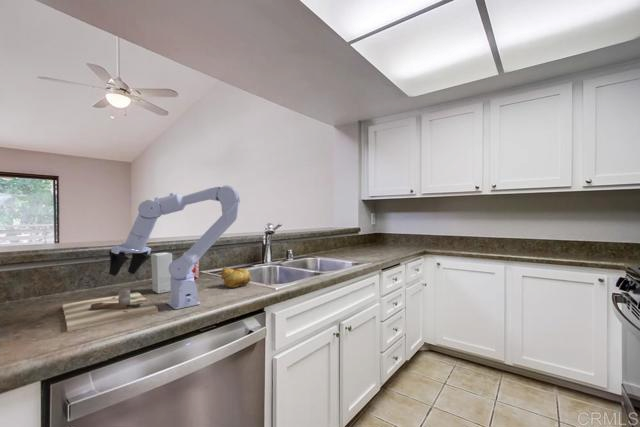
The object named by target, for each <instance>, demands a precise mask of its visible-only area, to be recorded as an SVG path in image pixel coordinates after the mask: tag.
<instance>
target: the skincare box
mask: <svg viewBox="0 0 640 427" xmlns="http://www.w3.org/2000/svg"><path fill="white" fill-rule="evenodd" d="M150 258H151V260H150V261H151V262H150V263H151V285H152V286H151V287H152V288H151V289H152V291H153V292H154V293H156V294H161V293H162V294H163V293H169V292H170V293H171V275H170V273H169V265H170V264H171V262H173V253H171V252H158V253H151V255H150Z"/></svg>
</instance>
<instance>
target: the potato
mask: <svg viewBox="0 0 640 427" xmlns="http://www.w3.org/2000/svg"><path fill="white" fill-rule="evenodd" d="M220 274H221V279H222V280H223V283H224V285H225V286H226V287H227V288H238V287H242V286H243V287H244V286H246V285H247V284H249V283H250V281H251V279H252V278H251V274H250V271H249V270H247V268H236V269H233V268H229V267H223V268H222V269H221V273H220Z"/></svg>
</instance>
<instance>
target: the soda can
mask: <svg viewBox="0 0 640 427" xmlns="http://www.w3.org/2000/svg"><path fill="white" fill-rule="evenodd" d="M186 252H187V251H185V252H182V255H183V254H185V253H186ZM199 270H200V259H199V260H198V261H197V262H196V264H195V267H194V269H193V270H192V272H193V274H194V281H195V283H196V282H197V281H198V280H199V279H200V278H199V277H200V276H199V275H200V274H199V273H200V271H199Z"/></svg>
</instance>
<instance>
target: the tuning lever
mask: <svg viewBox="0 0 640 427" xmlns="http://www.w3.org/2000/svg"><path fill="white" fill-rule="evenodd" d="M130 293H131V289H121V290H118V295H119V303H94V304H91V309H99V308H126V307H140V304H130Z"/></svg>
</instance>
